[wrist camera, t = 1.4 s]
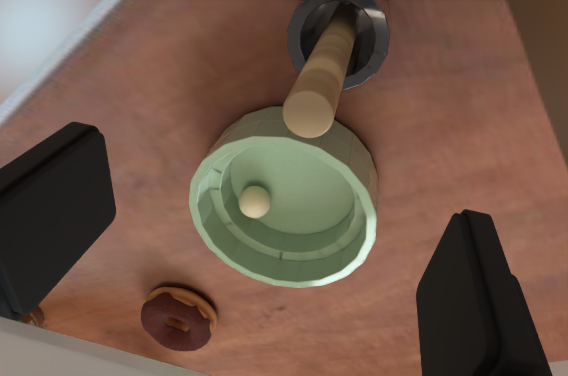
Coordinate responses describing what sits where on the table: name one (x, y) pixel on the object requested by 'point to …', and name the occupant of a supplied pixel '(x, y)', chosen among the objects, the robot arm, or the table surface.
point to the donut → (178, 318)
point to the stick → (322, 77)
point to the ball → (254, 201)
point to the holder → (368, 41)
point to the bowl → (287, 201)
